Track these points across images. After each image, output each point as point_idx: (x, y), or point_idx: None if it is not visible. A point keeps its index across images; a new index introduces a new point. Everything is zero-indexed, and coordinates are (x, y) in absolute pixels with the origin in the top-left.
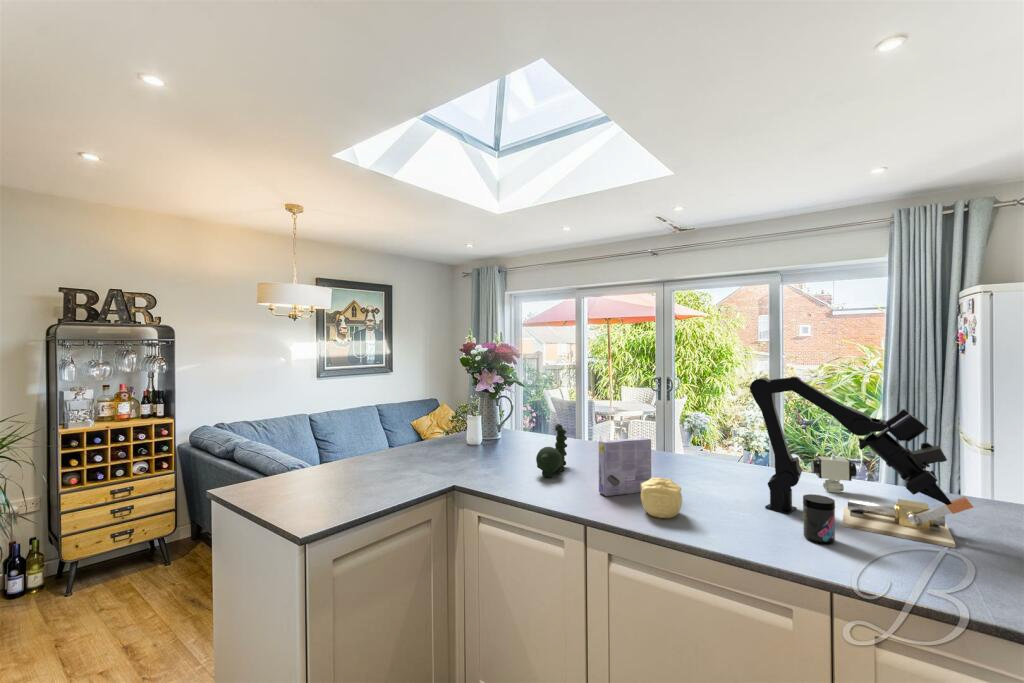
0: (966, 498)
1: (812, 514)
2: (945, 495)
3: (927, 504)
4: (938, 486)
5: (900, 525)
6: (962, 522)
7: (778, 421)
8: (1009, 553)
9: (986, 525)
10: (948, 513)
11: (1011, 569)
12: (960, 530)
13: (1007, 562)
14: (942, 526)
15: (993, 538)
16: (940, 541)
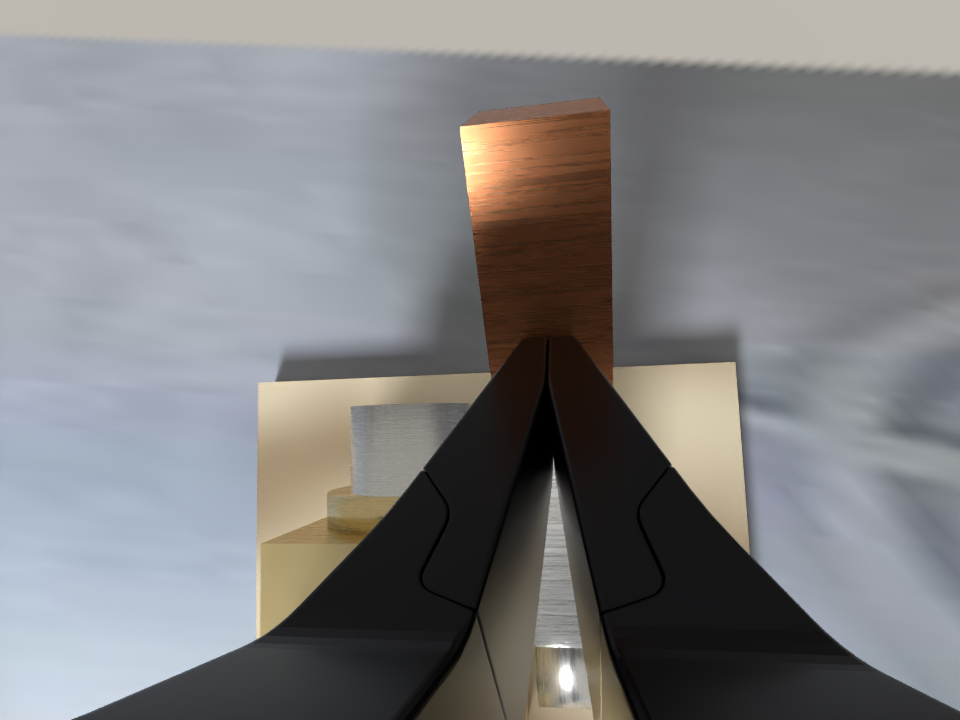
0: (544, 116)
1: None
2: (611, 397)
3: (304, 544)
4: (493, 516)
5: (527, 704)
6: (99, 285)
7: None
8: (588, 85)
9: (82, 166)
10: None
11: (938, 90)
12: (283, 307)
13: (798, 103)
14: (344, 410)
15: (330, 146)
16: (739, 452)
